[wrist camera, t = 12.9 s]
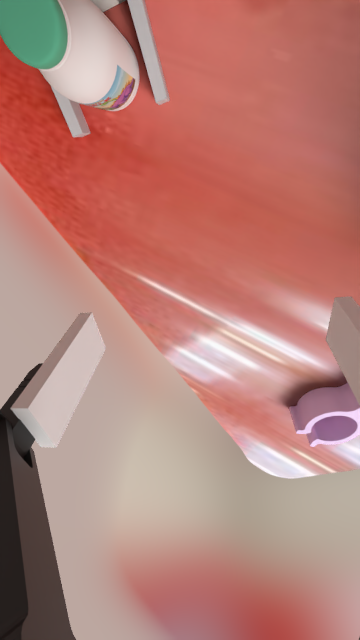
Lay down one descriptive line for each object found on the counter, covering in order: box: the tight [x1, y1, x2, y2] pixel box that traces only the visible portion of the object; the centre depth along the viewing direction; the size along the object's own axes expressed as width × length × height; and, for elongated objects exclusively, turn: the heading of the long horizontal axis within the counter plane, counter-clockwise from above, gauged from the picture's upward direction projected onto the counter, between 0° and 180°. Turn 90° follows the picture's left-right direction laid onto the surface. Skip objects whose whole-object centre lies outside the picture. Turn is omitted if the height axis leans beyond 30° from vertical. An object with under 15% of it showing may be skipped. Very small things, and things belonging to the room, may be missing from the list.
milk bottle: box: [0, 0, 139, 111], centre depth 26 cm, size 8×8×20 cm
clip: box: [289, 382, 360, 447], centre depth 63 cm, size 20×12×7 cm, turn 133°
